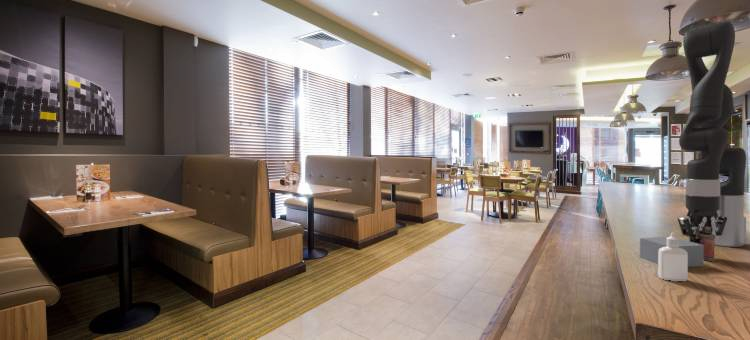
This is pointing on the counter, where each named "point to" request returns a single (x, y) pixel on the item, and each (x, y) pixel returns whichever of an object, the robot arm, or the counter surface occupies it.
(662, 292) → the counter surface
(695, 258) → the pedestal block
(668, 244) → the eye dropper bottle
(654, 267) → the counter surface
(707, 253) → the lighter
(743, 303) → the counter surface
